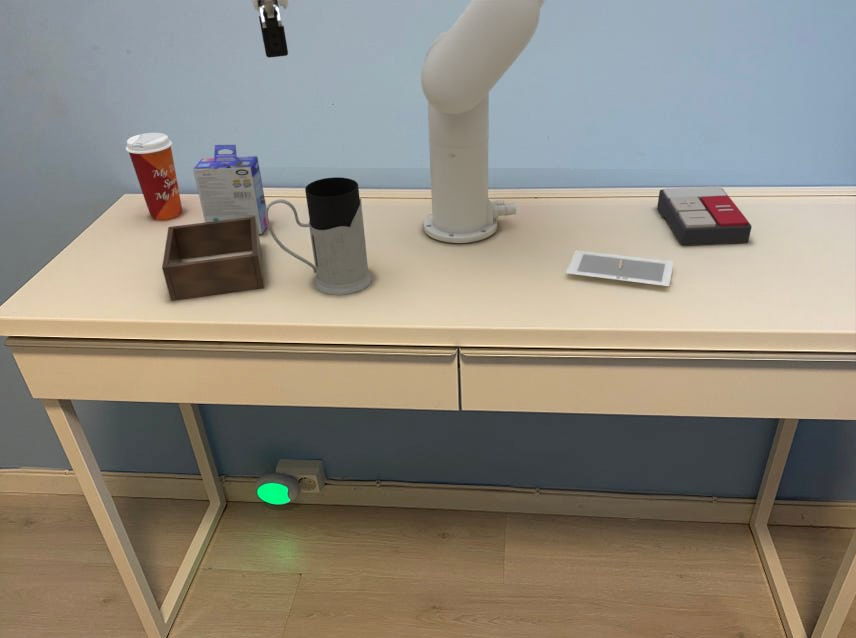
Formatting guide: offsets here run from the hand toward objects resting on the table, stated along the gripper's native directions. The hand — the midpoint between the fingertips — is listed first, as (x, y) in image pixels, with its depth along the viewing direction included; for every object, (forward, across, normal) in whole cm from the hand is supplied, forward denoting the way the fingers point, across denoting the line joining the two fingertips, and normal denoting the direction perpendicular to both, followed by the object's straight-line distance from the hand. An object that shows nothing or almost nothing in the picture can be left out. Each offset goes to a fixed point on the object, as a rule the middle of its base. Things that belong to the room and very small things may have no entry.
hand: (275, 49), depth 114 cm
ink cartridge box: (+30, +3, +11) cm, 32 cm away
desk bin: (+29, -12, +15) cm, 35 cm away
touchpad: (+31, -31, -45) cm, 62 cm away
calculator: (+31, -19, -65) cm, 74 cm away
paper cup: (+29, +14, +24) cm, 40 cm away
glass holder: (+30, -21, -1) cm, 36 cm away
